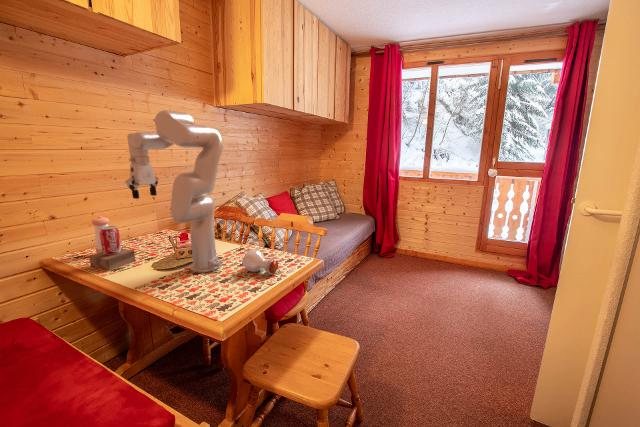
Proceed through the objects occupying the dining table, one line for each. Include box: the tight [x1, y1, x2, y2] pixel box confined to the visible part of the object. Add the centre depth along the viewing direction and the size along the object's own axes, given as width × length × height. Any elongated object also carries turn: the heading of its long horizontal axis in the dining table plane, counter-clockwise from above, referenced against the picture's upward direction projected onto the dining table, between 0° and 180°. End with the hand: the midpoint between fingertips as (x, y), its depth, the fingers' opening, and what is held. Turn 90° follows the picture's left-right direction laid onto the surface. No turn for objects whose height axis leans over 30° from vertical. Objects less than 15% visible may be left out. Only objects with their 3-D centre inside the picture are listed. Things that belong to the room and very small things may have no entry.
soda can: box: [100, 225, 122, 255], centre depth 132 cm, size 7×7×12 cm
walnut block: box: [88, 248, 136, 272], centre depth 134 cm, size 12×12×5 cm
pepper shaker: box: [91, 215, 110, 254], centre depth 146 cm, size 7×7×19 cm
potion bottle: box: [242, 249, 279, 275], centre depth 125 cm, size 9×10×15 cm
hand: (145, 196), depth 142 cm, fingers open, 9 cm apart
